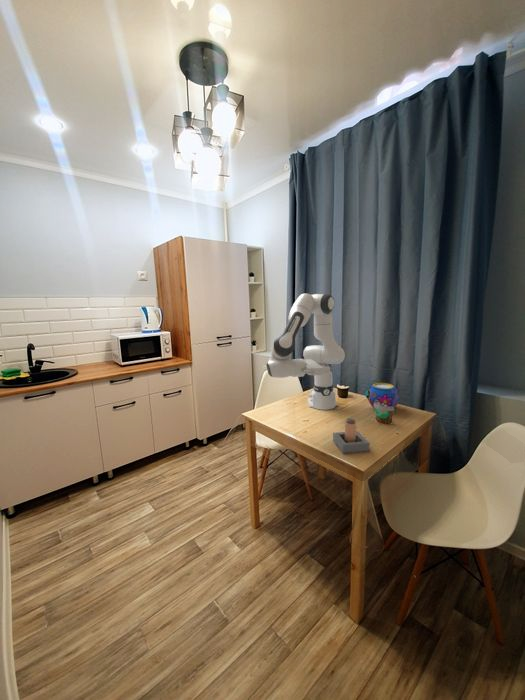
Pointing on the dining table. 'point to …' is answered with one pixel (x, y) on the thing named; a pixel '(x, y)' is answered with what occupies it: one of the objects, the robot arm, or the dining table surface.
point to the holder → (351, 443)
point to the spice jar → (350, 430)
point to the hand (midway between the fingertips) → (326, 366)
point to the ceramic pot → (383, 394)
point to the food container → (383, 412)
